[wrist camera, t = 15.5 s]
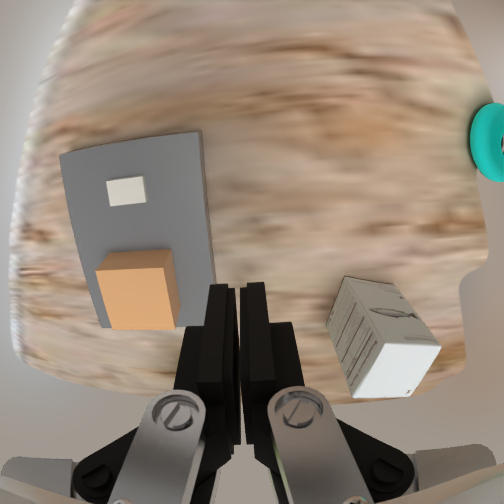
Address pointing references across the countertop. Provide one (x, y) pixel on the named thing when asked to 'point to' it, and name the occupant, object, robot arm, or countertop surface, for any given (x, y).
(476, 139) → the donuts
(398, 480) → the robot arm
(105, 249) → the socket
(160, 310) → the plug
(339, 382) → the countertop surface
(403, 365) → the supplement box
